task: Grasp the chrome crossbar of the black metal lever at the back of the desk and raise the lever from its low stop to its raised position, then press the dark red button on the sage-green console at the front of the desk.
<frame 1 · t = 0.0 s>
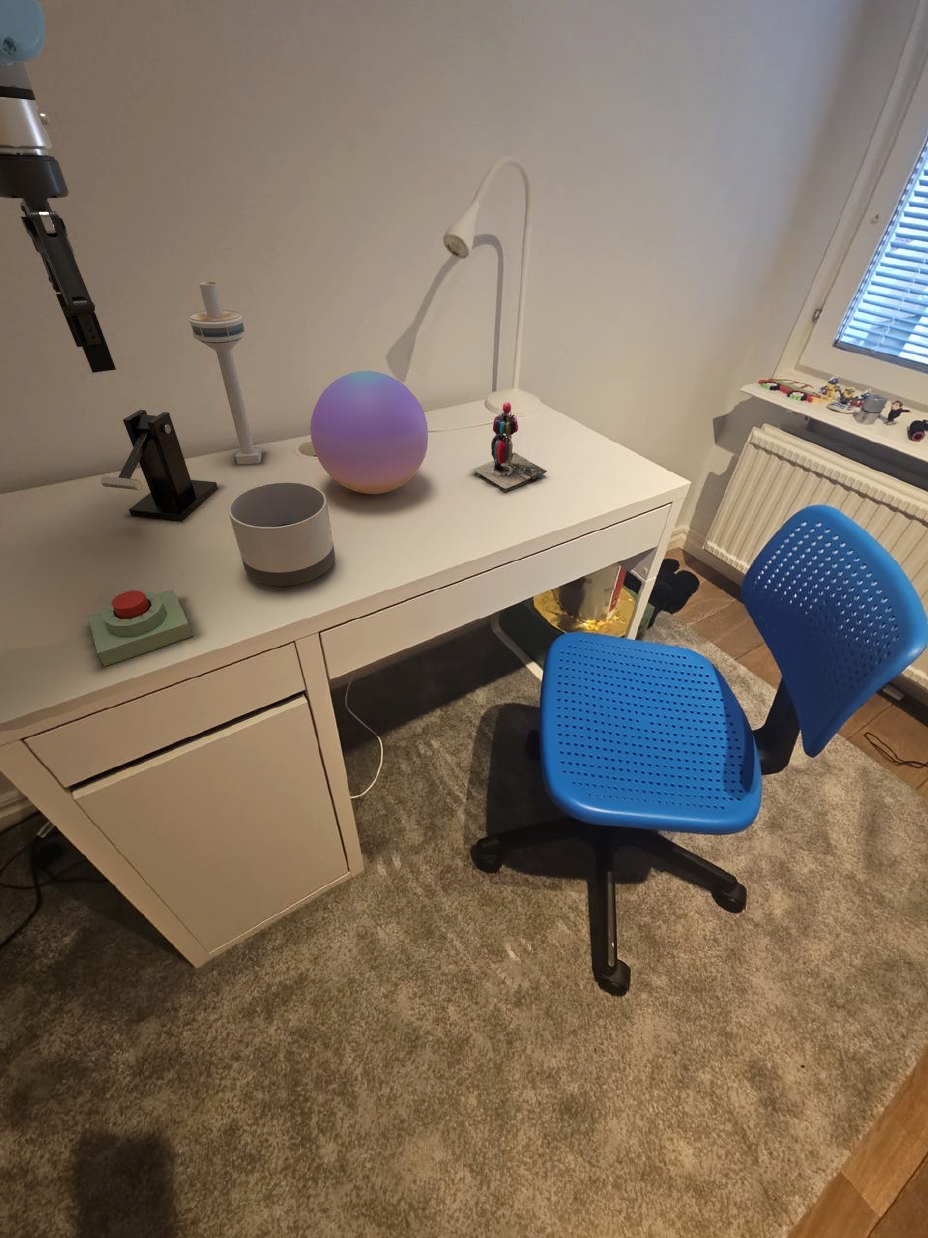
hand: (95, 357, 74), 24 cm above the table, tool pointing down, fingers open, 13 cm apart
button: (131, 604, 65), point 4 cm above the table, slide at 0.1 cm
ball: (375, 488, 99), on the table
planter: (292, 567, 80), on the table
lever: (137, 452, 83), point 11 cm above the table, hinge at -25.0°
statue: (509, 476, 105), on the table
bracket: (176, 501, 93), on the table
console: (144, 632, 68), on the table
model tower: (250, 460, 107), on the table
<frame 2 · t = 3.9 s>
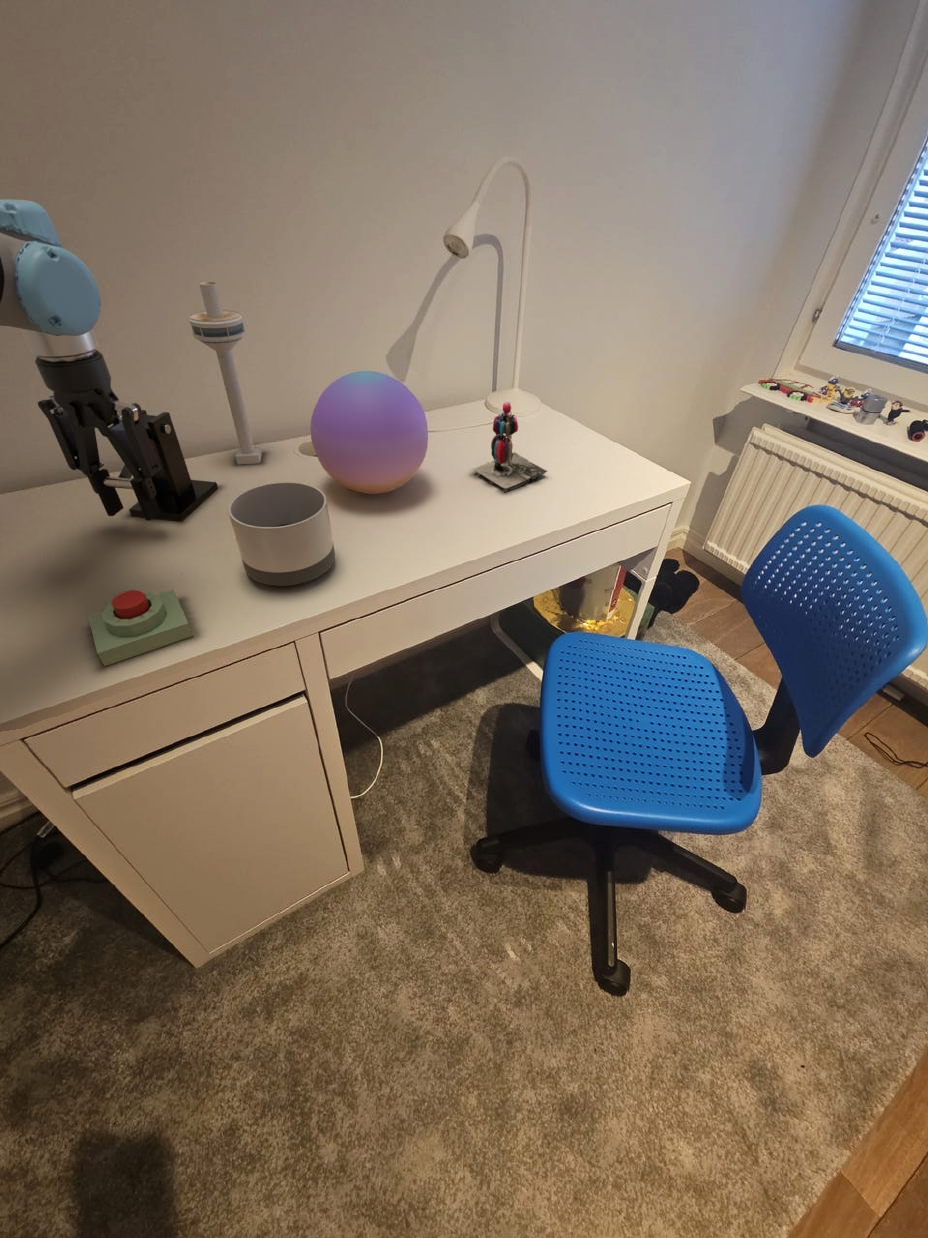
hand: (134, 513, 84), 3 cm above the table, tool pointing down, fingers closed on lever, 5 cm apart
lever: (137, 452, 83), point 11 cm above the table, hinge at -25.0°, touching gripper
everything else where it was.
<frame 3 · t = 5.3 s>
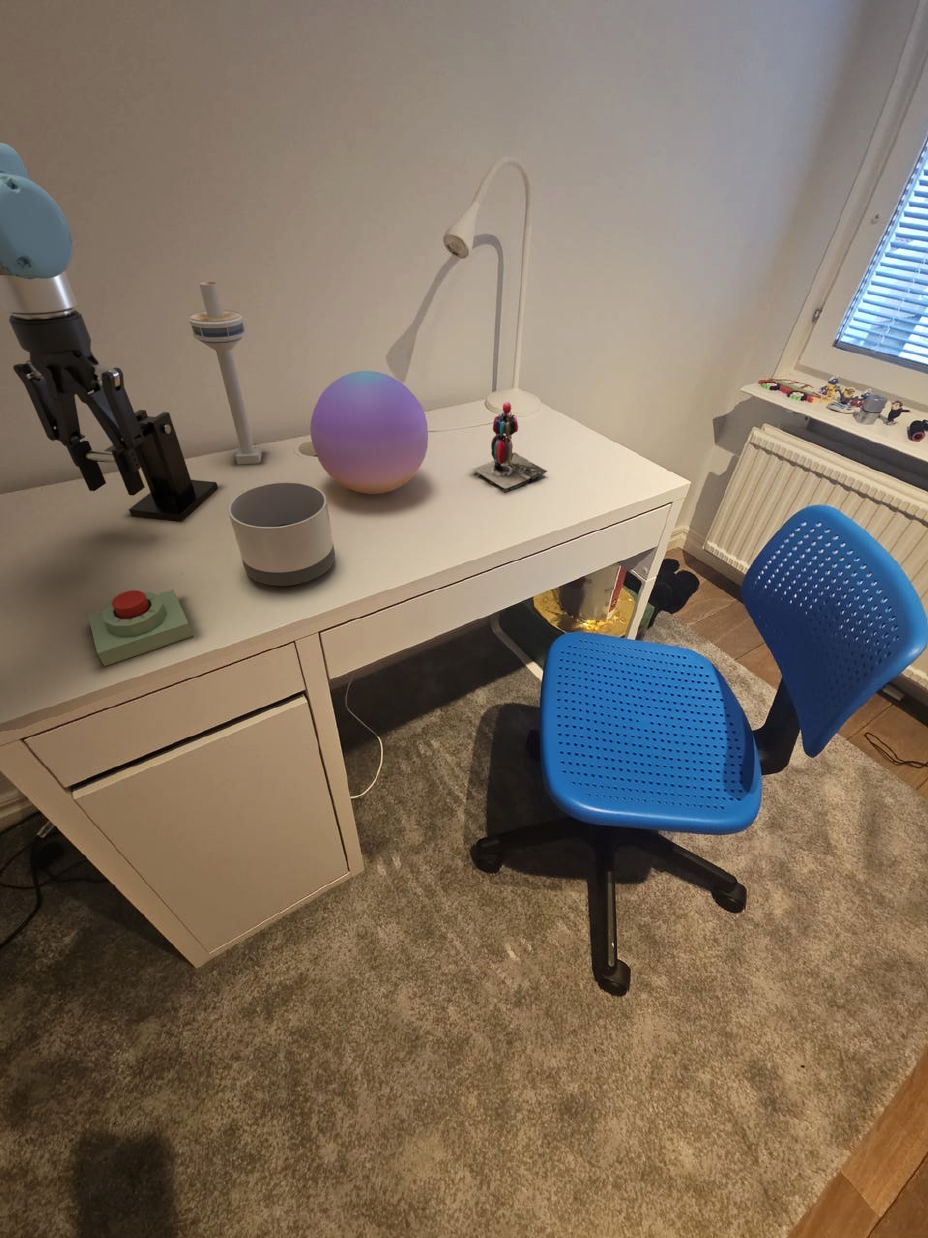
hand: (117, 488, 80), 8 cm above the table, tool pointing down, fingers closed on lever, 5 cm apart
lever: (129, 440, 81), point 13 cm above the table, hinge at -0.4°, touching gripper
everything else where it was.
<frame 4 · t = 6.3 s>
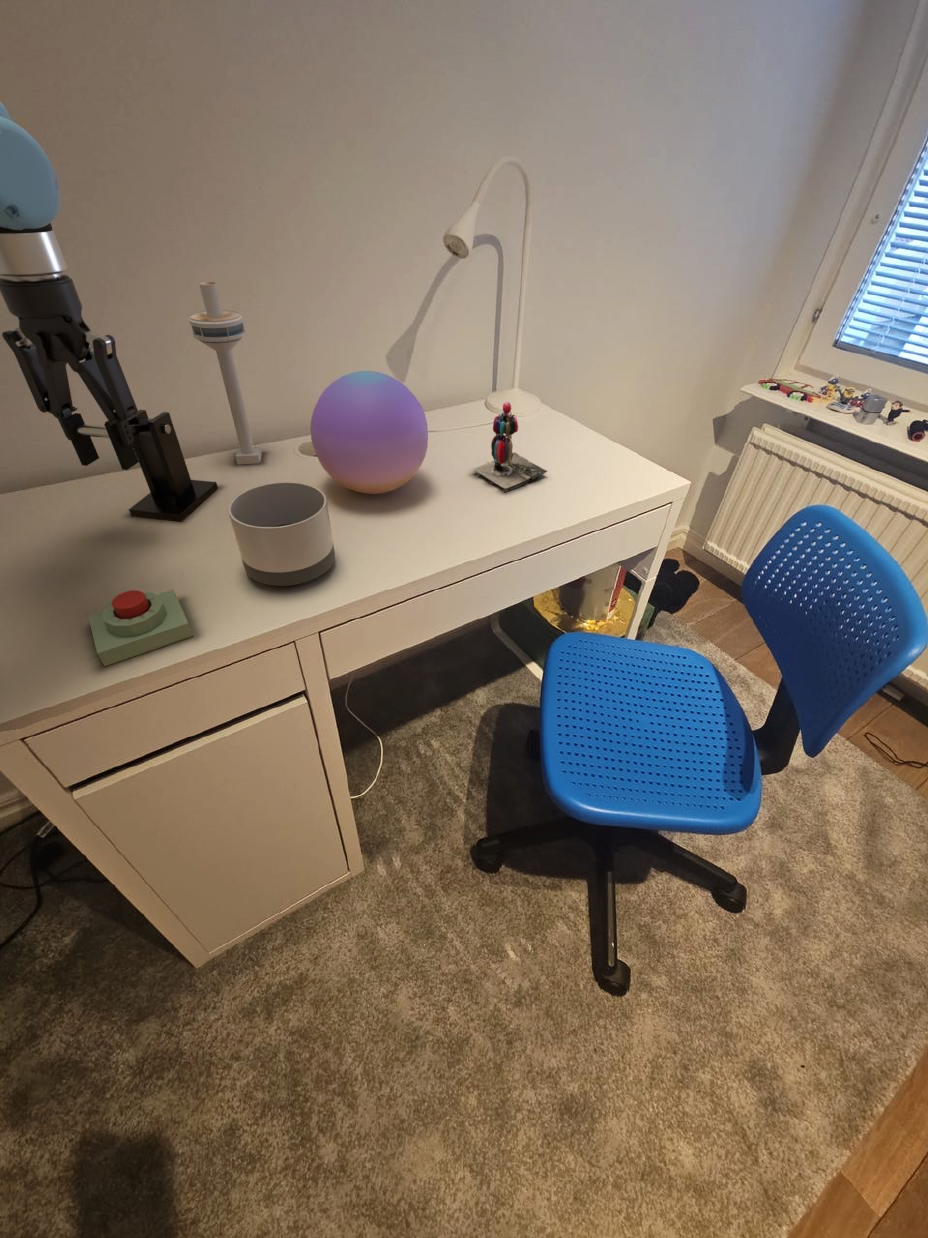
hand: (110, 463, 78), 12 cm above the table, tool pointing down, fingers closed on lever, 5 cm apart
lever: (126, 428, 80), point 15 cm above the table, hinge at 18.0°, touching gripper
everything else where it was.
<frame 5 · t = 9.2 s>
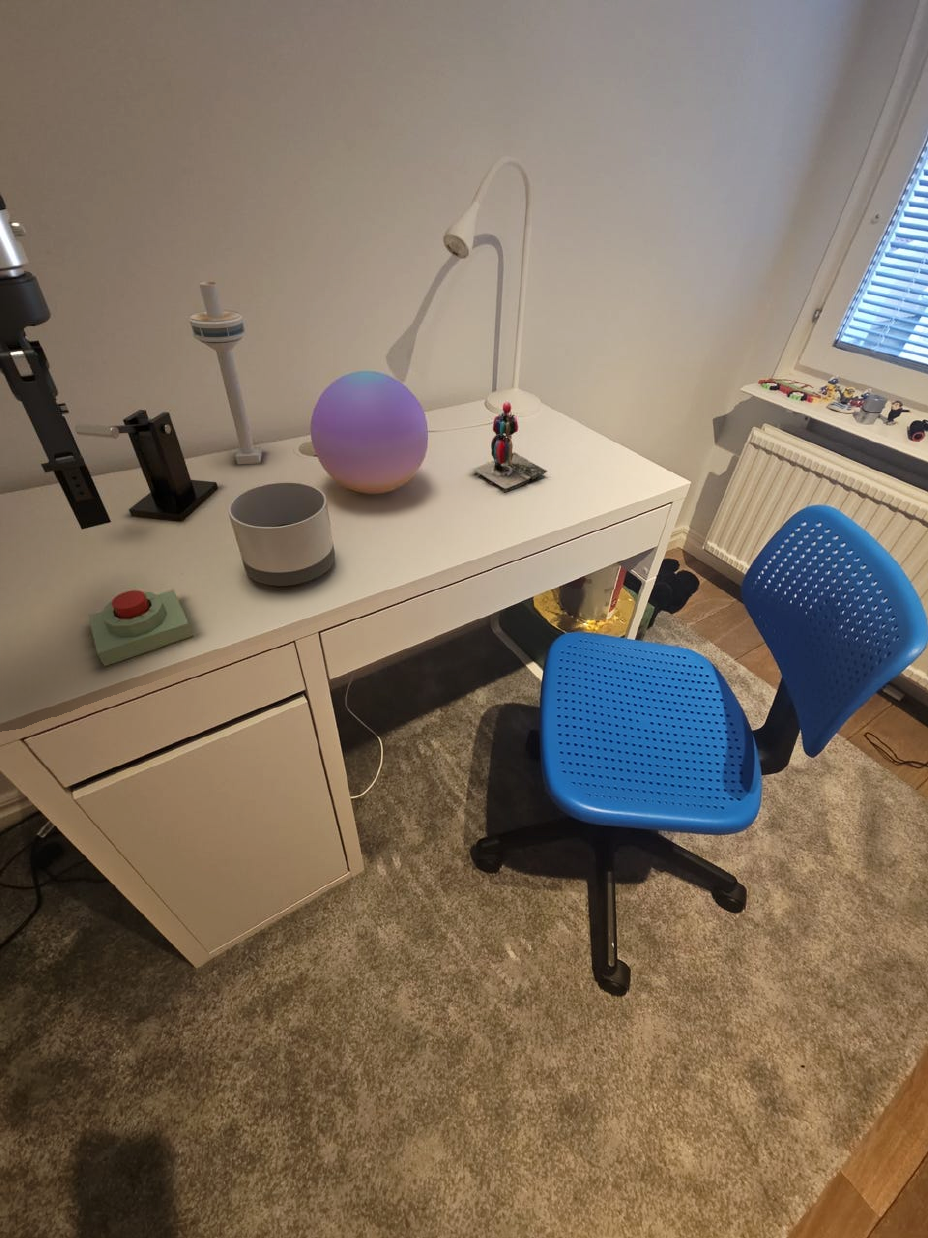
hand: (85, 497, 60), 17 cm above the table, tool pointing down, fingers open, 13 cm apart
lever: (126, 428, 80), point 15 cm above the table, hinge at 18.2°
everything else where it was.
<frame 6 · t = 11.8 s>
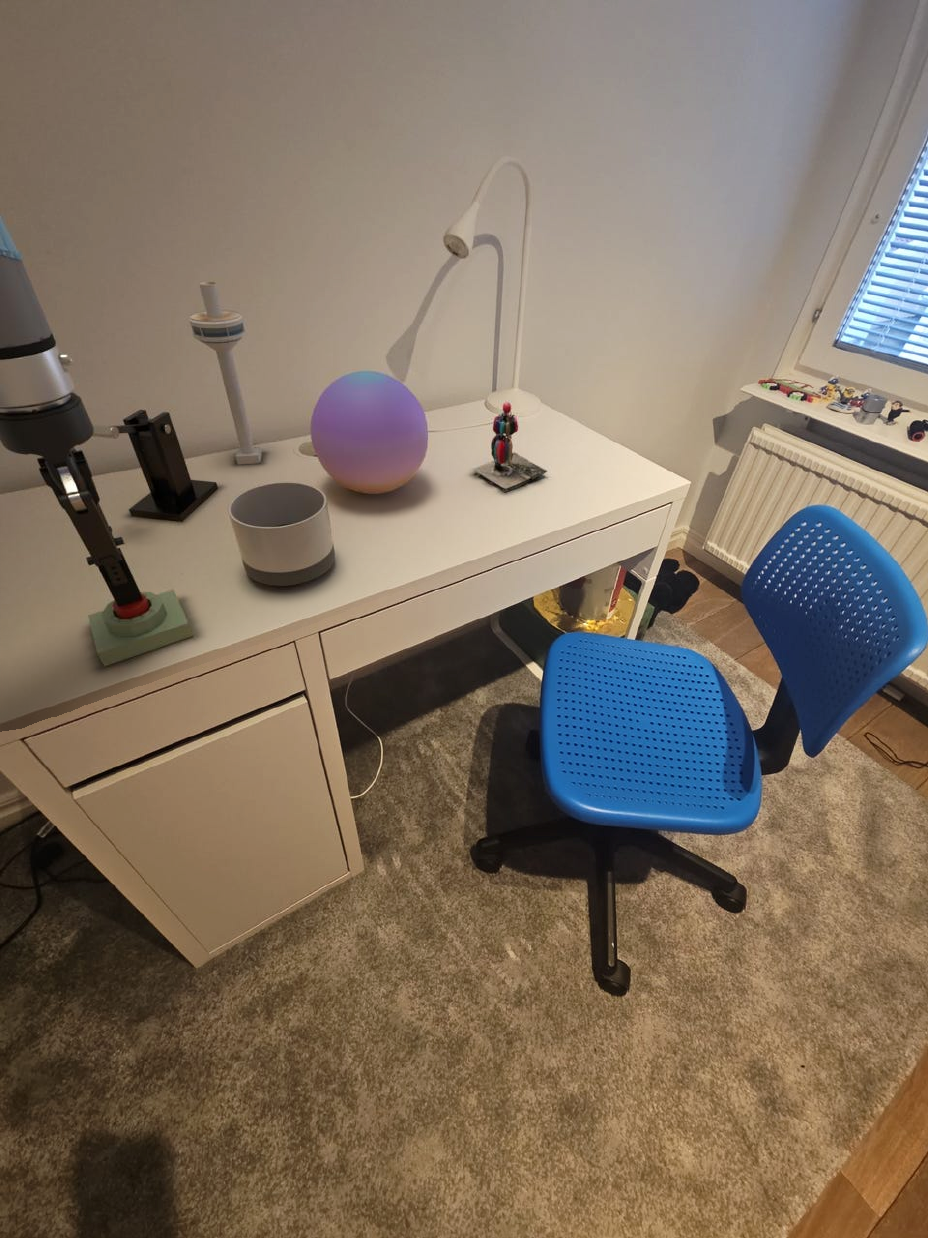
hand: (129, 599, 65), 5 cm above the table, tool pointing down, fingers closed
button: (132, 606, 65), point 4 cm above the table, slide at -0.2 cm, touching gripper
everything else where it was.
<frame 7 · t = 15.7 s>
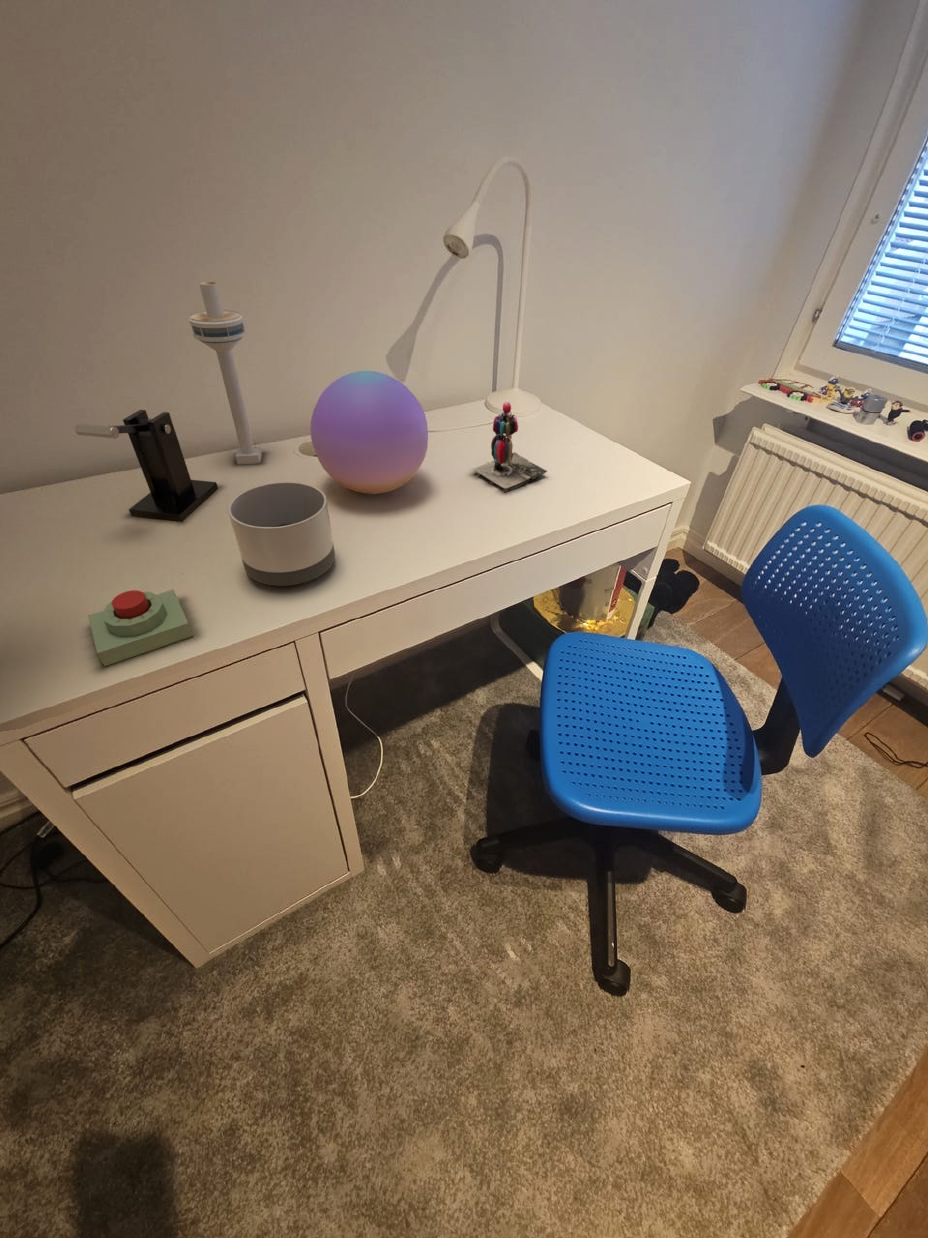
button: (131, 604, 65), point 4 cm above the table, slide at 0.1 cm
everything else where it was.
at the end: lever at +18° (first picture: -25°); button pushed in 1.0 cm at the most during the clip, back to where it started at the end; button slide at 0.1 cm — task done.
